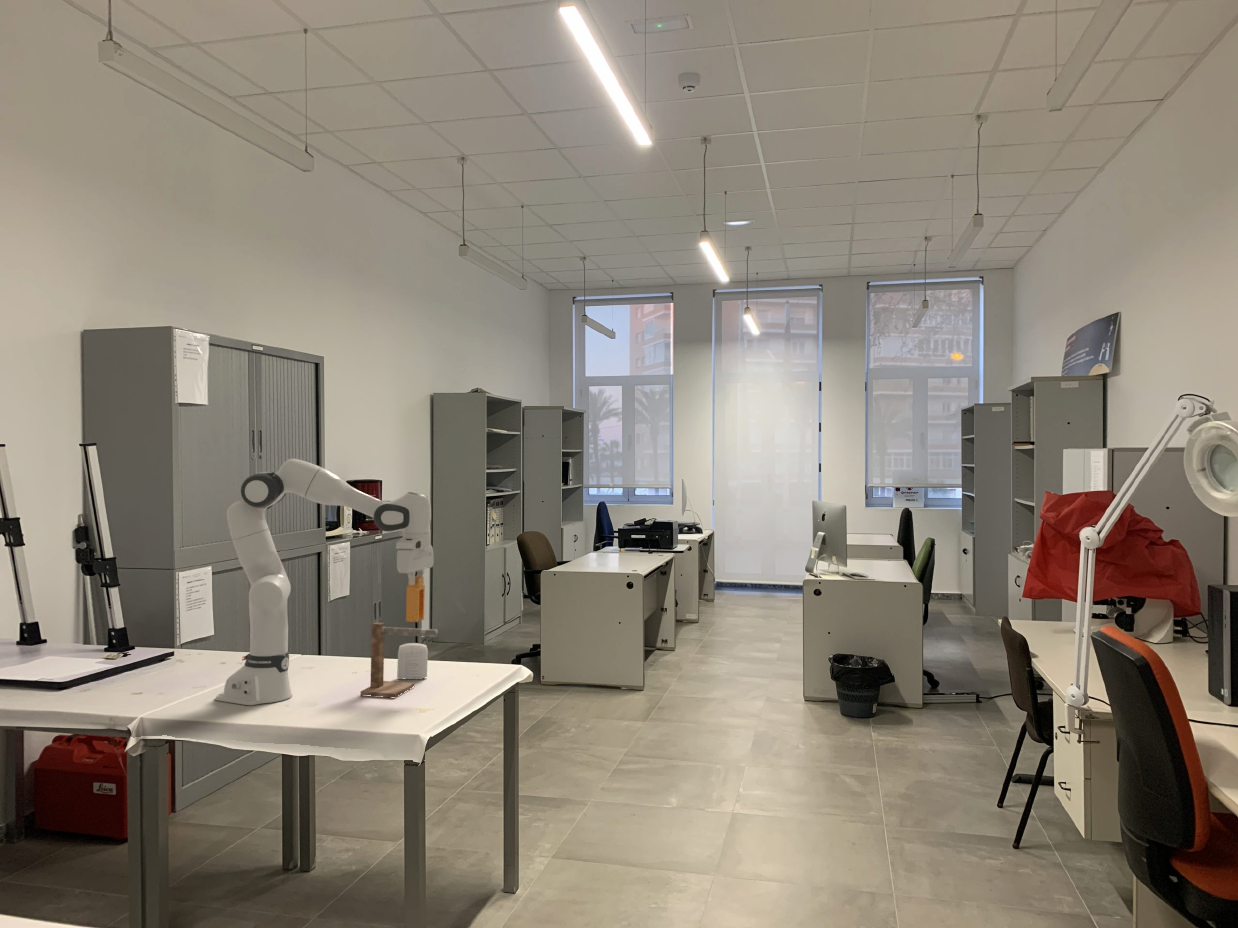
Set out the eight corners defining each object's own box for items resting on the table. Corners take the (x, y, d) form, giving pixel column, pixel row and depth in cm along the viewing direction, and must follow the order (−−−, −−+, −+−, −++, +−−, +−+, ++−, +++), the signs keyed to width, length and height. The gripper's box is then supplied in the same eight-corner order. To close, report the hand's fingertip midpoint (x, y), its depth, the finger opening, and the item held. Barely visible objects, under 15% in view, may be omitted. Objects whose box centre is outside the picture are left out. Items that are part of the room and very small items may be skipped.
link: (406, 621, 260) (407, 577, 260) (412, 618, 264) (413, 575, 265) (417, 621, 259) (418, 578, 259) (423, 619, 264) (424, 576, 264)
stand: (360, 695, 257) (361, 626, 257) (381, 685, 271) (382, 619, 271) (425, 700, 253) (427, 630, 253) (443, 689, 266) (445, 622, 267)
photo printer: (427, 676, 283) (428, 641, 284) (426, 679, 279) (427, 644, 279) (398, 677, 282) (398, 642, 282) (396, 680, 278) (397, 644, 278)
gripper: (421, 539, 273) (420, 579, 273) (393, 543, 253) (392, 587, 253) (438, 539, 272) (437, 580, 271) (412, 544, 252) (411, 588, 251)
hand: (415, 584), depth 262 cm, fingers closed on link, 3 cm apart
